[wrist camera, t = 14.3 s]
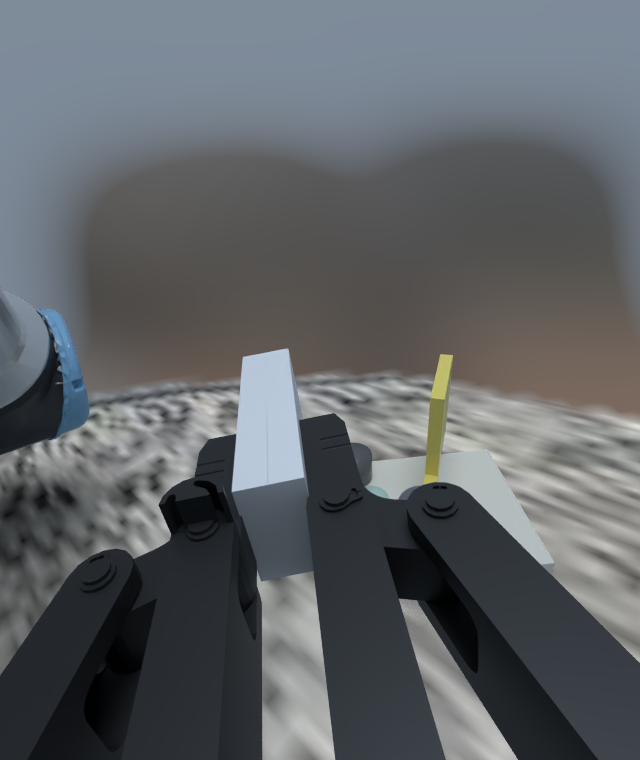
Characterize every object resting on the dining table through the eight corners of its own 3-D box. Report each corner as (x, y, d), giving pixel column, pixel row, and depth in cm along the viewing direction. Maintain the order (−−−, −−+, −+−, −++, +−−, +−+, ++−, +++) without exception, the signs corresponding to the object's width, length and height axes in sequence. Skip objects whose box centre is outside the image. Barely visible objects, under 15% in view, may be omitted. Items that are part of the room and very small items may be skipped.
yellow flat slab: (448, 555, 41) (461, 451, 35) (392, 543, 43) (395, 440, 36) (461, 450, 53) (472, 357, 46) (416, 443, 54) (421, 352, 48)
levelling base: (346, 601, 41) (344, 564, 38) (329, 479, 53) (327, 445, 51) (550, 577, 41) (561, 539, 39) (485, 462, 54) (490, 428, 51)
